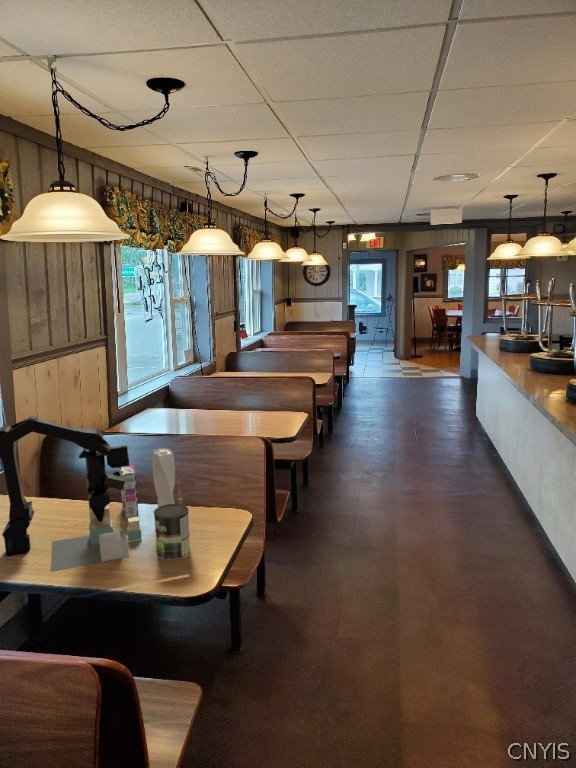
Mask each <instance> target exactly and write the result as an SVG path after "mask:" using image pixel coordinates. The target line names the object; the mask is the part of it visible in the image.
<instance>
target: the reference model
mask: <svg viewBox="0 0 576 768" xmlns="http://www.w3.org/2000/svg"><path fill="white" fill-rule="evenodd" d="M127 523H128V524H127V526H128V527H127V529H126V532H127V535H125V536H126V537H125V539H126V543H130V542H137V541H142V540H144V535H143V533H142V528H141V526H140V519H139V516H134V517H128V518H127Z"/></svg>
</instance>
